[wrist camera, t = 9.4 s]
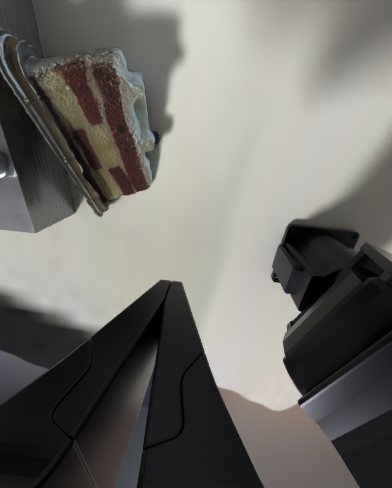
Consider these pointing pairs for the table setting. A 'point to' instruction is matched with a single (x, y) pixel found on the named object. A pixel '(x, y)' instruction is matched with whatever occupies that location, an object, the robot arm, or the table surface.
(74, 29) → the table surface
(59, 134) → the chocolate cake
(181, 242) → the table surface
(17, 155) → the stop rail
